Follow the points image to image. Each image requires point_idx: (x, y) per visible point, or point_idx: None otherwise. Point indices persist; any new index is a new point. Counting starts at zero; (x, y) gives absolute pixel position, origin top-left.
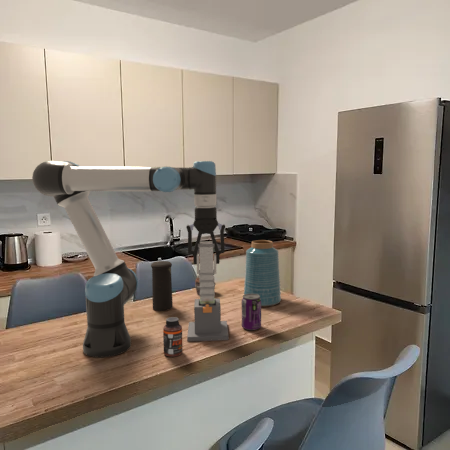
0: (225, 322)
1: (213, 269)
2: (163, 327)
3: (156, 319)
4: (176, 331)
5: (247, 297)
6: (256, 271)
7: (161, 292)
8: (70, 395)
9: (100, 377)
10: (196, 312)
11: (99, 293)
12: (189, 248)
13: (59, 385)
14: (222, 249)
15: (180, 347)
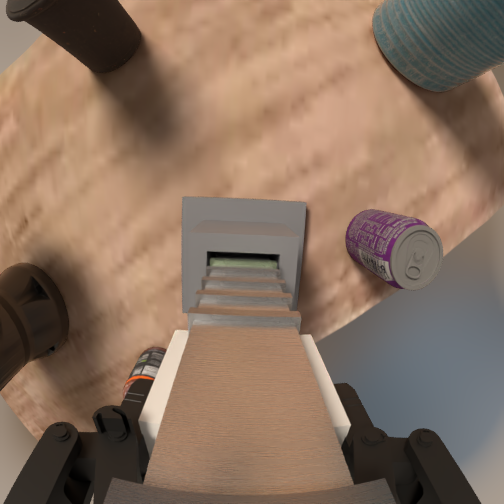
0: (301, 216)
1: (297, 317)
2: (123, 396)
3: (92, 137)
4: None
5: (403, 265)
6: (469, 36)
7: (81, 50)
8: None
9: (72, 406)
10: None
11: None
12: (71, 499)
13: (39, 406)
14: (402, 493)
15: None
